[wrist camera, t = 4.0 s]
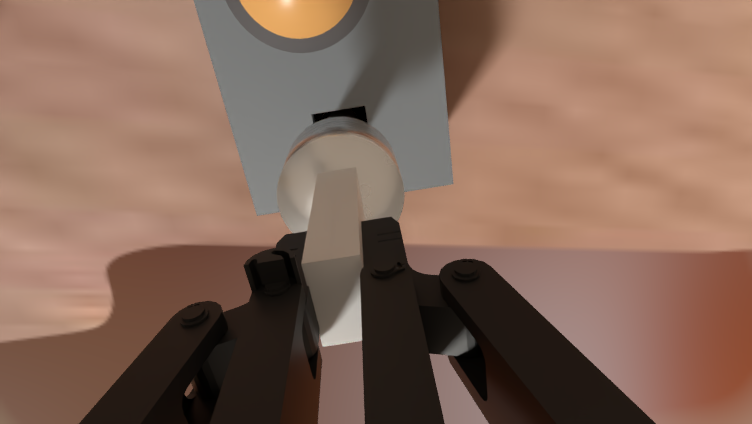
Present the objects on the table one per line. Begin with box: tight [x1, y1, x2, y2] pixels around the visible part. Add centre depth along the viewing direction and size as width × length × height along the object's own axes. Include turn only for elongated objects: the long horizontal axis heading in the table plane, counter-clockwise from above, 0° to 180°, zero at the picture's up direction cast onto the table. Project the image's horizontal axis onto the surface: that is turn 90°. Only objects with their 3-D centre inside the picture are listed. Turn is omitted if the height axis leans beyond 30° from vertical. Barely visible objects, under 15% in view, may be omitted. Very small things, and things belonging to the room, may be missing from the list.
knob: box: [277, 108, 404, 233], centre depth 23 cm, size 5×5×12 cm
